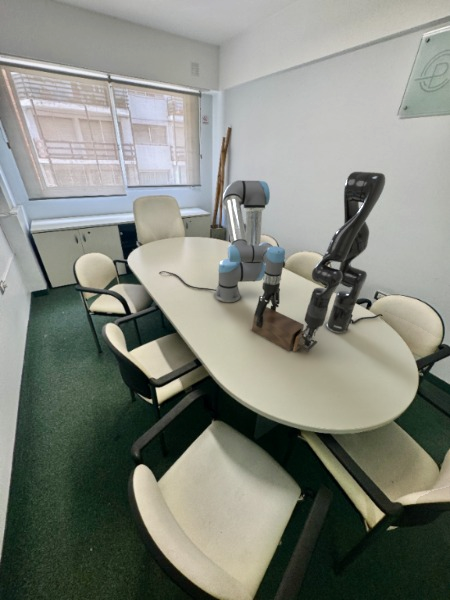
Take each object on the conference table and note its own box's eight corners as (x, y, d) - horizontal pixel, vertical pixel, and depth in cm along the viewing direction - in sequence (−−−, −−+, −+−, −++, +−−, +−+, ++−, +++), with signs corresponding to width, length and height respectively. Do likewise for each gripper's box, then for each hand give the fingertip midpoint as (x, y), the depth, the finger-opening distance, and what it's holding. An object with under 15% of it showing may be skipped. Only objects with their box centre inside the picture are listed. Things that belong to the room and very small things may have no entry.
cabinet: (299, 340, 115) (304, 324, 110) (288, 351, 109) (292, 334, 104) (264, 322, 127) (266, 306, 122) (252, 330, 121) (254, 314, 116)
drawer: (315, 348, 110) (319, 334, 106) (306, 358, 104) (310, 344, 100) (269, 324, 124) (271, 311, 120) (259, 331, 119) (260, 318, 115)
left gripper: (263, 293, 99) (257, 335, 110) (292, 276, 113) (284, 315, 125) (249, 287, 103) (245, 328, 114) (278, 272, 117) (272, 310, 129)
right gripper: (317, 323, 92) (307, 357, 100) (331, 310, 100) (321, 342, 109) (299, 315, 96) (291, 348, 105) (314, 303, 104) (306, 334, 113)
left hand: (265, 321), depth 119 cm, fingers closed on cabinet, 10 cm apart
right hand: (306, 345), depth 107 cm, fingers closed
